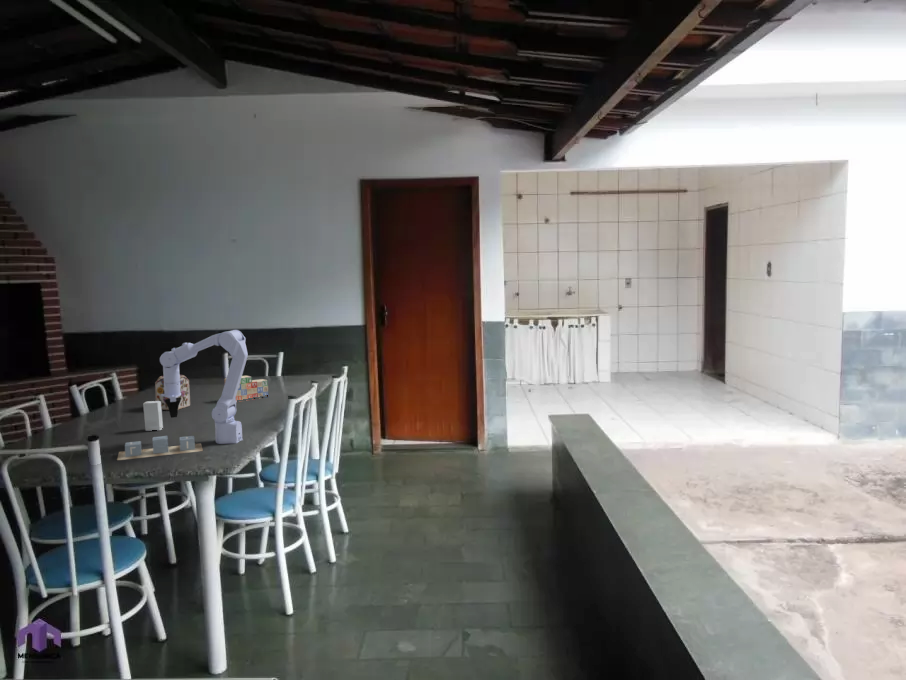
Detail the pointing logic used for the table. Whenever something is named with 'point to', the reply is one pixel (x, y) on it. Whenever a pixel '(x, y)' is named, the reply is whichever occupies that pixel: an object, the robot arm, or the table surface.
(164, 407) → the decorative jar
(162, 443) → the plain block
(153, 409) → the skincare box
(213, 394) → the table surface
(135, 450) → the block with a 7
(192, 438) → the block with a 1
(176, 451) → the birch board
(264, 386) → the stack of blocks
